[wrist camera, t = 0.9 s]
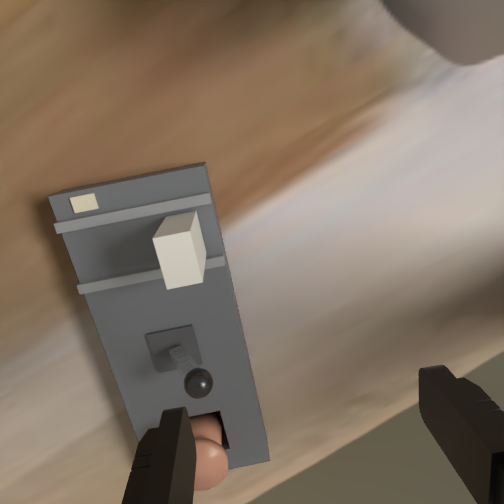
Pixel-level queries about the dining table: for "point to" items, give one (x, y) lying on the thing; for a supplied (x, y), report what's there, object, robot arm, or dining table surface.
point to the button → (208, 451)
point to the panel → (162, 303)
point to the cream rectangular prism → (181, 250)
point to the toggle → (191, 373)
